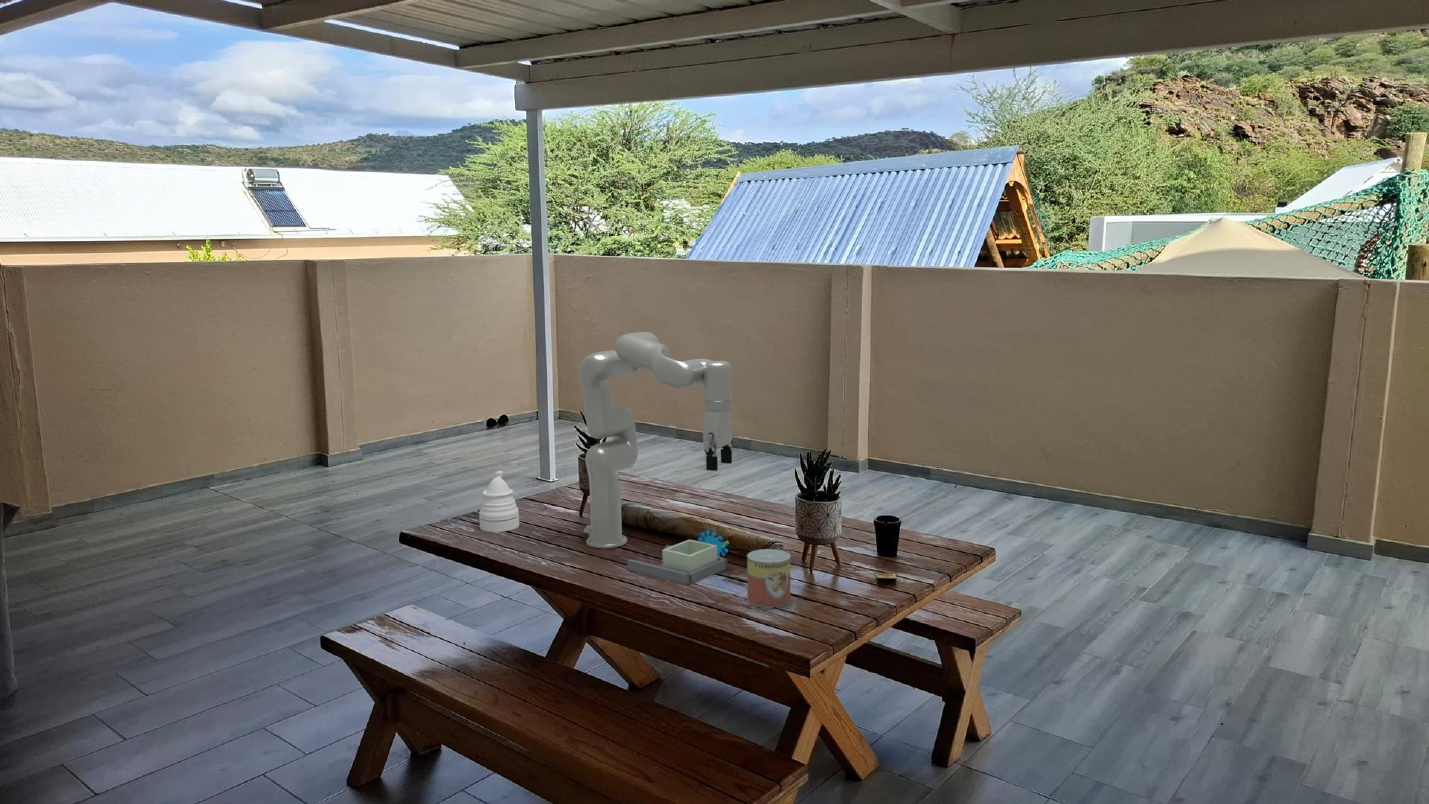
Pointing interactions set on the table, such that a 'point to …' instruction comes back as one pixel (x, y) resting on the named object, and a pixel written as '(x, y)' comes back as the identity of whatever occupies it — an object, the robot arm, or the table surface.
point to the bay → (677, 575)
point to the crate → (689, 556)
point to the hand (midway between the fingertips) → (719, 466)
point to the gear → (714, 542)
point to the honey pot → (498, 507)
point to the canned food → (768, 578)
